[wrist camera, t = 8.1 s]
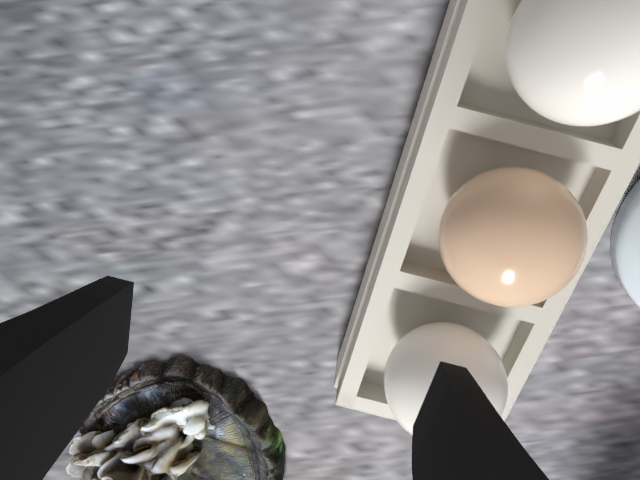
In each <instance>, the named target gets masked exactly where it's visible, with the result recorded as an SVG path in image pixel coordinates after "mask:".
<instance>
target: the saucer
mask: <svg viewBox="0 0 640 480" xmlns="http://www.w3.org/2000/svg"><path fill="white" fill-rule="evenodd" d="M610 255H611V261H612V266H613V269H614V272H615V275H616V277H617V279H618V280H619V282H620V284H621V286H622V287H623V288H624V289H625V291H626V292H627V293H628V294H629V296H630V297H631V298H632V299H633V300H634V302H635V303H636V304H637V305H638V306H639V307H640V179H639V180H638V181H637V183H636V184H635V185H634V186H633V188H632V189H631V190H630V192H629V193H628V195H627V196H626V198H625V200H624V201H623V203H622V204H621V207H620V209H619V211H618V213H617V216H616V218H615V221H614V225H613V228H612V233H611V240H610Z"/></svg>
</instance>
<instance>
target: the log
mask: <svg viewBox="0 0 640 480" xmlns="http://www.w3.org/2000/svg"><path fill="white" fill-rule="evenodd" d="M80 433H81V434H82V435H80V436H77V437H75V438H74V439H73V441H72V443H71V446H70V448H69V453H70V454H71V455H74V456H75V457H74V458H73V459H72V460H71V461H70V462H69V464H68V465H67V467H66V471H67V473H68V474H69V475H70V476H72V477H80V480H283V471H284V455H285V446H284V443H283V439H282V434H281V432H280V430H279V429H277V428H276V427H275V426H274V424H273V422H272V420H271V418H270V417H269V415H268V410H267V407H266V404H264V403H263V402H261V401H259V400H257V399H256V398H255V397H254V393H253V392H252V391H251V390H250V389H249V387H248V386H247V384H246V383H245V382H244V381H243V380H242V379H239V378H233V377H228V376H225V375H223V373H222V372H221V371H220V370H218V369H215V368H212V367H211V366H208V365H200V364H198V363H196V362H195V361H194V360H192V359H191V358H188V357H184V356H178V357H175V358H172V359H170V360H169V361H168V363H162V362H159V361H156V360H151V361H148V362H144V363H141V365H140V366H139V368H138V369H136V370H135V371H127V372H124V373H122V374H121V375H120V376H119V377H118V378H117V381H113V382H112V383H111V384H110V386H109V388H108V390H107V391H106V393H105V394H104V395H103V397H102V398H101V400H100V401H99V403H98V404H97V405H96V407H95V408H94V409H93V411H92V412H91V414H90V415H89V416H88V418H87V419H86V420H85V422H84V423H83V425H82V426H81V427H80Z"/></svg>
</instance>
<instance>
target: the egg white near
mask: <svg viewBox="0 0 640 480" xmlns="http://www.w3.org/2000/svg"><path fill="white" fill-rule="evenodd" d="M506 65H507V69H508V74H509V77H510V79H511V82H512V84H513V86H514V88H515V90H516V92H517V93H518V94H519V96H520V97H521V98H522V100H523V101H524V102H525V103H526V104H527V105H528V106H529V107H530V108H531V109H532V110H534V111H535V112H537V113H538V114H540V115H541V116H543V117H545V118H547V119H549V120H552V121H555V122H558V123H561V124H565V125H570V126H598V125H603V124H608V123H612V122H615V121H618V120H621V119H624V118H626V117H628V116H631V115H633V114H635V113H636V112H638V111H640V0H522V1H521V2H520V4H519V6H518V7H517V9H516V11H515V13H514V16H513V18H512V20H511V23H510V26H509V30H508V34H507V40H506Z"/></svg>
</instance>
